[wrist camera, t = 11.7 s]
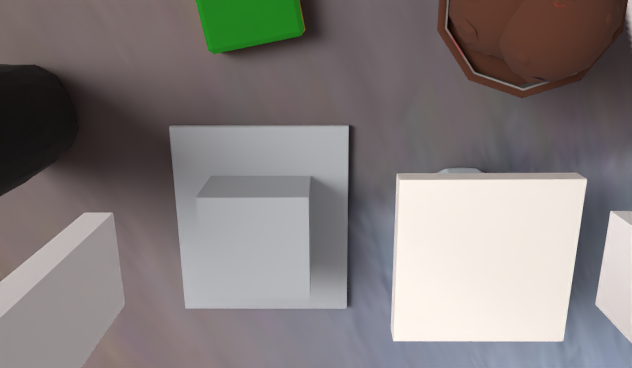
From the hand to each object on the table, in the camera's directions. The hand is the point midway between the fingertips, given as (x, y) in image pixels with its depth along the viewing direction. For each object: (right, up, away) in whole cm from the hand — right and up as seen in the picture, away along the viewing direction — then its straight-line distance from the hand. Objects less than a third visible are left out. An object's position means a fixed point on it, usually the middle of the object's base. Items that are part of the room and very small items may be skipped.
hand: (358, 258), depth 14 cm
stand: (-6, -1, +30) cm, 31 cm away
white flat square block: (+10, -3, +23) cm, 26 cm away
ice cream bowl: (+11, +15, +25) cm, 32 cm away
